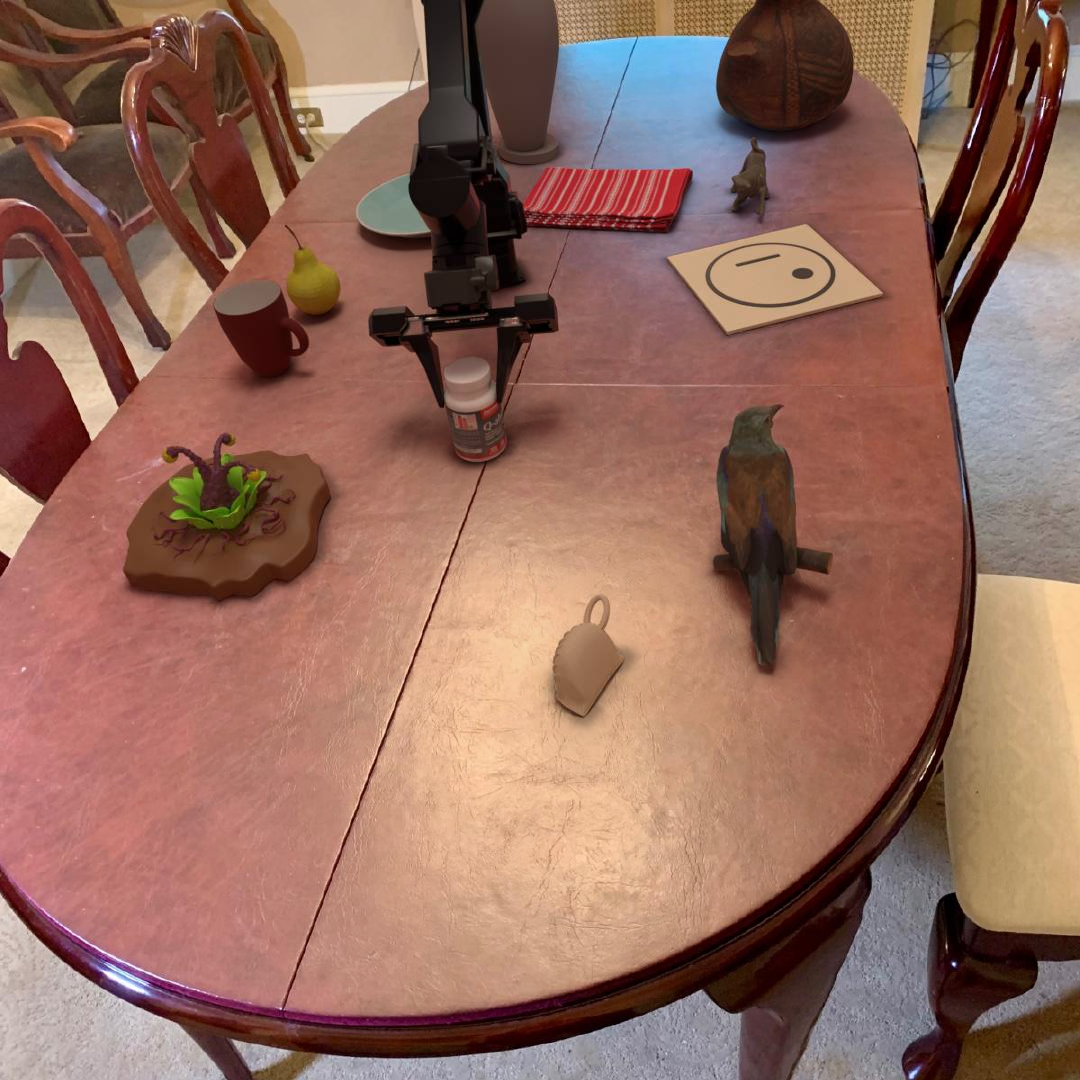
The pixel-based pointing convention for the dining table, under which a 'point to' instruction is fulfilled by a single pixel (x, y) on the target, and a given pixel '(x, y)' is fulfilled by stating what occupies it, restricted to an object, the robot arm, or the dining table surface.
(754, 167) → the dog figurine
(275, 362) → the mug
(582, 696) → the decorative ornament
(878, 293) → the board
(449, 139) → the robot arm
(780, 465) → the bird figurine
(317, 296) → the fruit
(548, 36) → the vase
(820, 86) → the jug
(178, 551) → the plant
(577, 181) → the dish towel
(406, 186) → the plate
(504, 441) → the pill bottle
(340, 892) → the dining table surface
